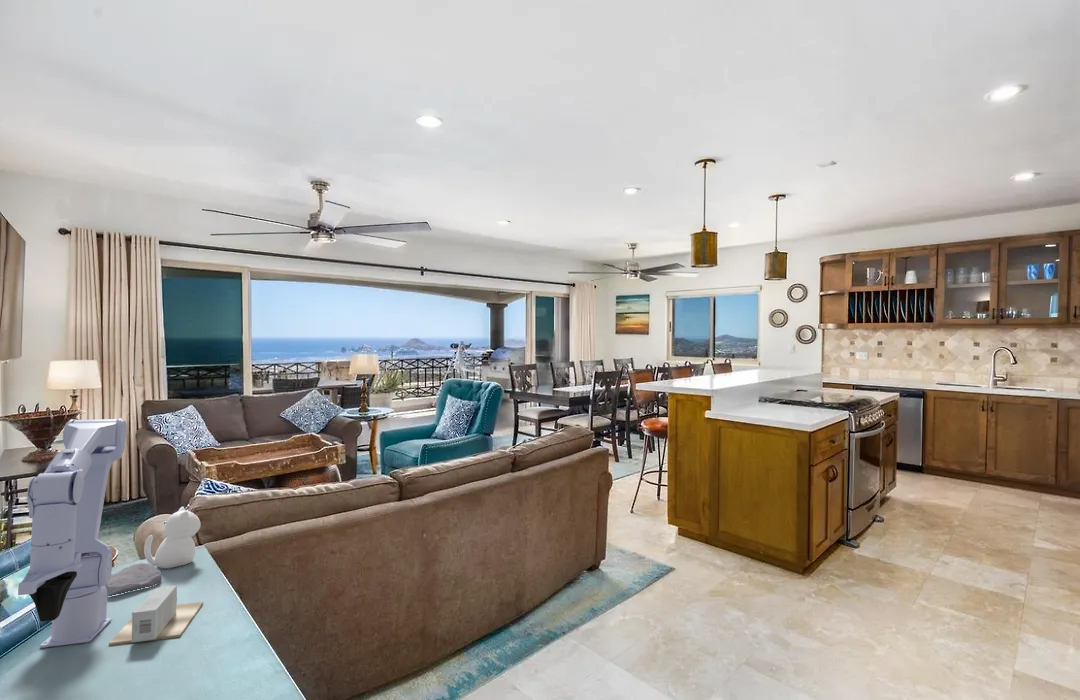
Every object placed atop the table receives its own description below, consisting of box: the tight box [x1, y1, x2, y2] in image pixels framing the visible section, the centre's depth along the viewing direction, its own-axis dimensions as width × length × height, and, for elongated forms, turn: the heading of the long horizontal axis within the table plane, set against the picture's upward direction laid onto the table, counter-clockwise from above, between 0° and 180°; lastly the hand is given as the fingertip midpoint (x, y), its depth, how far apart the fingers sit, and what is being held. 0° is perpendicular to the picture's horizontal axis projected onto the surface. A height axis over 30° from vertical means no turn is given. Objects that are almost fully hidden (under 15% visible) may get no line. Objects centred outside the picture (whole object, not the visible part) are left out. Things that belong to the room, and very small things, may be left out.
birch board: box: [108, 601, 204, 646], centre depth 111 cm, size 15×12×1 cm
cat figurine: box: [143, 506, 201, 569], centre depth 142 cm, size 9×12×15 cm
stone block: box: [105, 562, 163, 596], centre depth 127 cm, size 12×5×10 cm
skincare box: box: [131, 585, 178, 643], centre depth 108 cm, size 6×4×12 cm
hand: (49, 619), depth 91 cm, fingers closed
